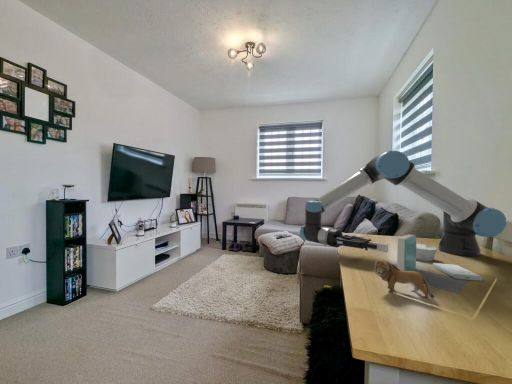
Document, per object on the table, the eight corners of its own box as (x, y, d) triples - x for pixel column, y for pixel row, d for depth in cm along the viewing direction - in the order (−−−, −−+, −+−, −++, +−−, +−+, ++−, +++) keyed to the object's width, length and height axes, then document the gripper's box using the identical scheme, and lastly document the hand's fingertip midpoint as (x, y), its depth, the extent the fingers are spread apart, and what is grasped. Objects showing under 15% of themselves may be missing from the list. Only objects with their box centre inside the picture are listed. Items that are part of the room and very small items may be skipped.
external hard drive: (457, 269, 88) (482, 281, 75) (432, 267, 89) (453, 278, 77) (457, 264, 88) (482, 275, 75) (432, 262, 89) (453, 273, 77)
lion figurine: (374, 293, 67) (375, 261, 67) (372, 285, 72) (373, 256, 72) (437, 302, 62) (438, 267, 62) (430, 293, 67) (431, 262, 67)
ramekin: (443, 262, 96) (443, 249, 96) (415, 262, 96) (415, 249, 96) (424, 255, 107) (424, 243, 107) (399, 254, 107) (399, 243, 107)
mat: (398, 266, 90) (398, 264, 90) (468, 282, 75) (468, 281, 75) (382, 274, 82) (382, 272, 82) (457, 294, 66) (457, 293, 66)
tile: (408, 268, 86) (408, 234, 86) (415, 270, 84) (416, 235, 84) (397, 274, 80) (397, 237, 80) (405, 276, 78) (406, 239, 78)
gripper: (338, 243, 109) (394, 255, 91) (321, 247, 101) (378, 261, 83) (339, 227, 109) (394, 236, 91) (322, 230, 101) (379, 240, 83)
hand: (387, 248), depth 87 cm, fingers closed
